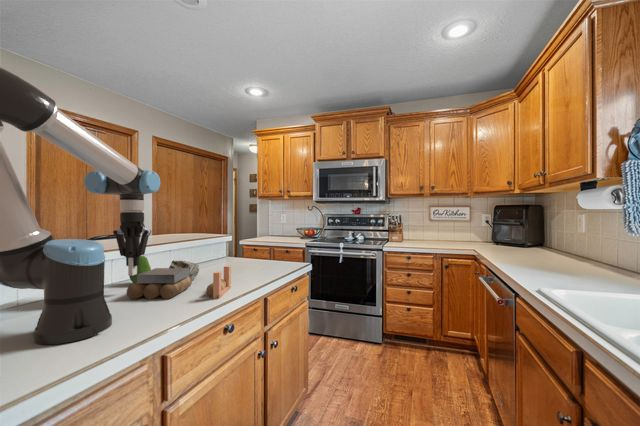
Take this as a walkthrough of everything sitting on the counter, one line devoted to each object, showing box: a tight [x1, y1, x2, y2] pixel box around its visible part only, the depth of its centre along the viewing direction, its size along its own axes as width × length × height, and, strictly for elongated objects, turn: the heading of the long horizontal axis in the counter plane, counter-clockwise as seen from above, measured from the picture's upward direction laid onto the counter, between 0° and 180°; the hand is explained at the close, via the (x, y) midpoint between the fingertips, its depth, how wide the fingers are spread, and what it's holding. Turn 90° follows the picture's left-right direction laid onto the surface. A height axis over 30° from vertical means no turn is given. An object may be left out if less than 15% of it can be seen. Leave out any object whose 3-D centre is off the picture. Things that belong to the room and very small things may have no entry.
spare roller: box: [205, 278, 226, 297], centre depth 106 cm, size 8×5×5 cm
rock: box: [168, 259, 200, 282], centre depth 125 cm, size 18×10×10 cm, turn 6°
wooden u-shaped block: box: [212, 265, 232, 300], centre depth 106 cm, size 14×2×9 cm, turn 1°
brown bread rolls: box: [126, 277, 193, 300], centre depth 106 cm, size 14×16×5 cm
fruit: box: [128, 255, 152, 285], centre depth 119 cm, size 8×8×12 cm
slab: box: [137, 267, 189, 283], centre depth 106 cm, size 12×13×3 cm
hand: (132, 274), depth 106 cm, fingers closed
